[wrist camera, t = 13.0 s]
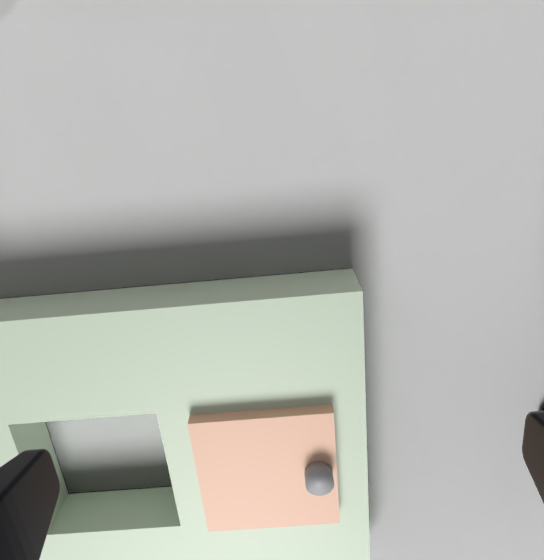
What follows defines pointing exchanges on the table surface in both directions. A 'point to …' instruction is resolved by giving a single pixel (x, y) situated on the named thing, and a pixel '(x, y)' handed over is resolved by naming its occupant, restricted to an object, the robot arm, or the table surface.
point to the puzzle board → (203, 414)
